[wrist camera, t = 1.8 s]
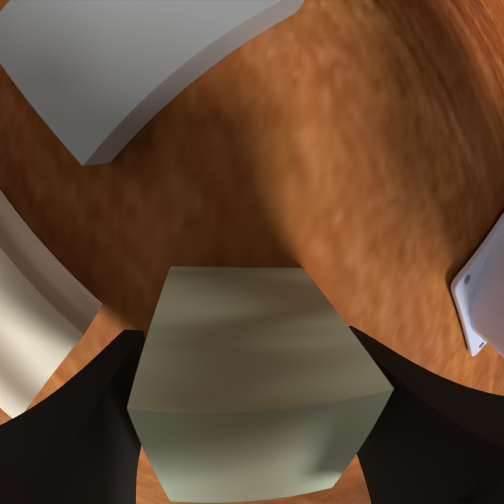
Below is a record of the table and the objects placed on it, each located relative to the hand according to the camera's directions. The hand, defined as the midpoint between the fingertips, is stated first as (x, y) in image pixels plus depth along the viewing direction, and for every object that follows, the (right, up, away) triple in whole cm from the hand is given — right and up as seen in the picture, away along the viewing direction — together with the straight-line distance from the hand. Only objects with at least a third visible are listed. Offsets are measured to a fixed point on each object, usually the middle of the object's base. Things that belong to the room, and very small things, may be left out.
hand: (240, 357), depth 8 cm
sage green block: (0, +1, +2) cm, 2 cm away
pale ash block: (-12, +1, 0) cm, 12 cm away
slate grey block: (-4, +11, -2) cm, 12 cm away
